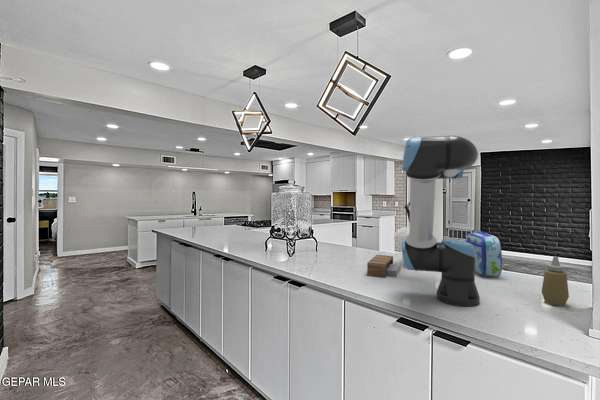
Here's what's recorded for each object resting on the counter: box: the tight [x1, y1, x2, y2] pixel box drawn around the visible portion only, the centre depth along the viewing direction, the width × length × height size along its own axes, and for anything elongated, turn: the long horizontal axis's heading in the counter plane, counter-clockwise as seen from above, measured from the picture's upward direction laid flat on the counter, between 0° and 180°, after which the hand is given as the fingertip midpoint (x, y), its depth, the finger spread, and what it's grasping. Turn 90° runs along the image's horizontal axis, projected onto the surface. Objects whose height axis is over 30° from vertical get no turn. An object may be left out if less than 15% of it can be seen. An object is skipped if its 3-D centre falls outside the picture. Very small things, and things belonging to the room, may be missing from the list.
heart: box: [394, 226, 435, 253], centre depth 184 cm, size 28×16×22 cm, turn 131°
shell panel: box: [386, 263, 402, 278], centre depth 166 cm, size 15×12×4 cm
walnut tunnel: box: [366, 254, 394, 279], centre depth 167 cm, size 22×9×7 cm, turn 154°
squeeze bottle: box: [541, 255, 570, 307], centre depth 119 cm, size 8×8×18 cm
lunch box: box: [465, 230, 503, 277], centre depth 165 cm, size 26×11×21 cm, turn 168°
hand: (417, 238), depth 158 cm, fingers closed
